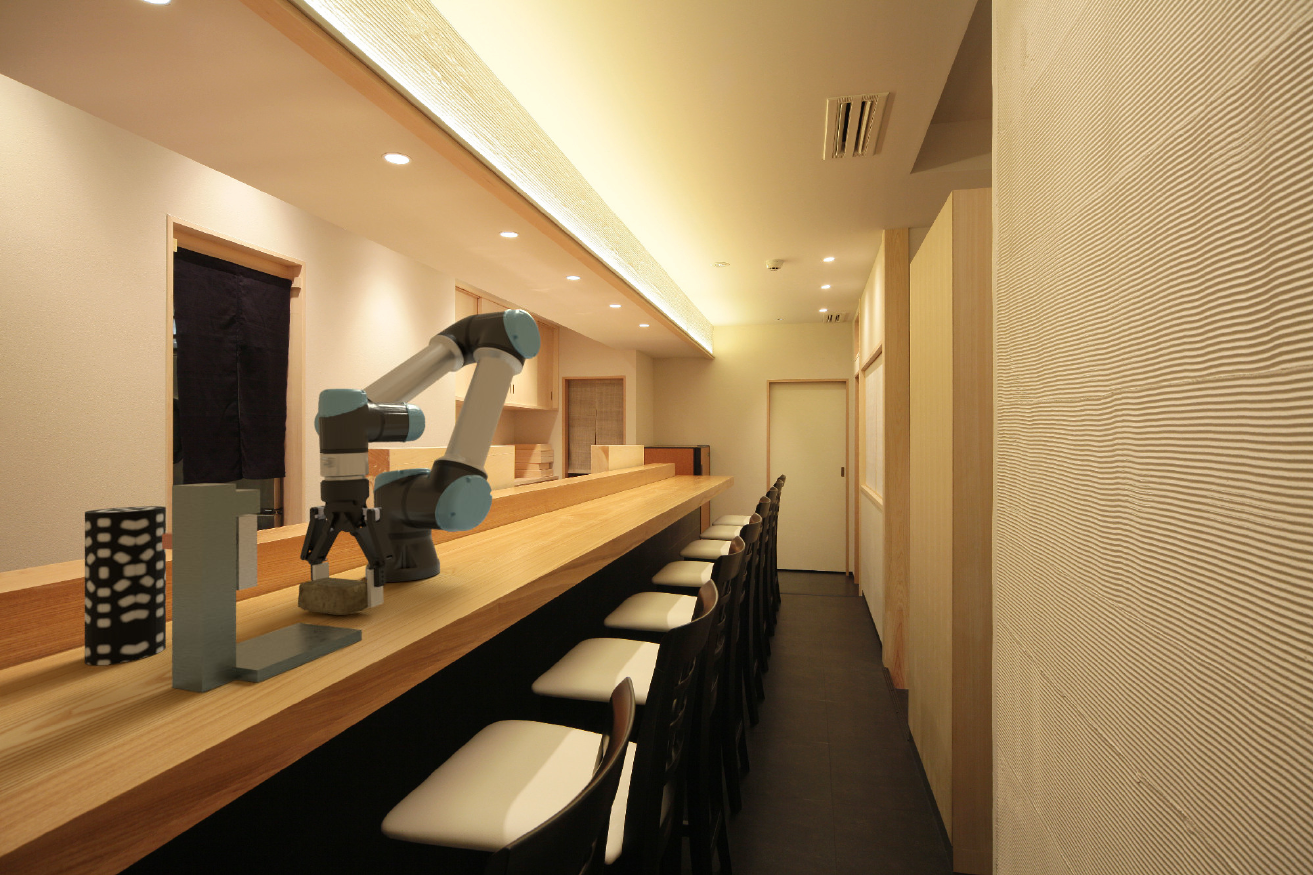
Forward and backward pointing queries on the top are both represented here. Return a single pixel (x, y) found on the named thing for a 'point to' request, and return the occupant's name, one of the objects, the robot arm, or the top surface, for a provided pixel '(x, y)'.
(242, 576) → the hammer
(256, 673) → the press
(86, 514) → the white-spotted black cylinder
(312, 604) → the stone block
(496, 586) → the top surface
